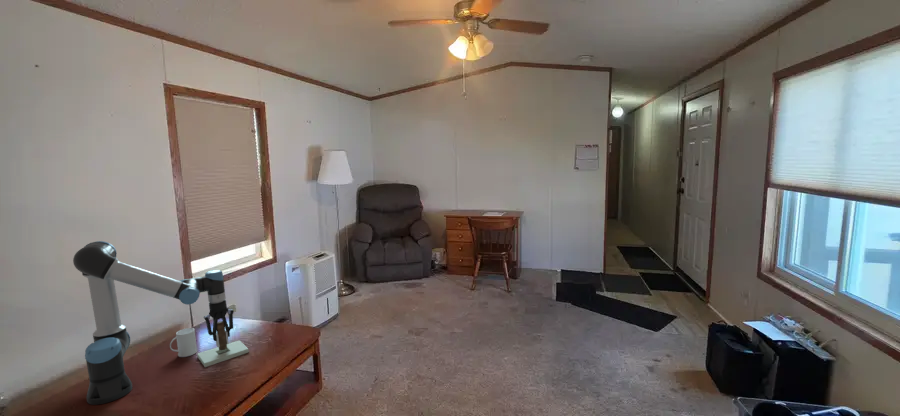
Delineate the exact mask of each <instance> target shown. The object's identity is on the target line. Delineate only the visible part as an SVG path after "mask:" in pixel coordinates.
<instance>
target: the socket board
mask: <svg viewBox="0 0 900 416" xmlns="http://www.w3.org/2000/svg"><path fill="white" fill-rule="evenodd" d="M249 352H250V351H249V348H248V347H247V346H246V344H244V343H243V342H242V341H241V340H240V339H239V340H236V341H233V342H229V344H227V349H225V350H219V347H217V346H216V347H214V348H212V349H211V348H210V349H207V350H205V351H201V352H197V353H196V356H197V358H198V360H199V361H200V363H201V364H202V365H203V366H204V368H207V367H210V366H212V365H215V364H219V363H221V362H224V361H225V362H226V361H227V360H230V359H233V358H236V357H239V356H243V355H245V354H247V353H249Z"/></svg>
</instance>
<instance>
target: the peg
mask: <svg viewBox="0 0 900 416" xmlns="http://www.w3.org/2000/svg"><path fill="white" fill-rule="evenodd" d="M225 330H226V329H225V326H224V322H223V320H220V321H219V320H218V322H217V332H216V333H217V334H218V338H219V346H220V347H219V350H225V349H227V343H226V334H225Z"/></svg>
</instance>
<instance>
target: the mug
mask: <svg viewBox="0 0 900 416" xmlns="http://www.w3.org/2000/svg"><path fill="white" fill-rule="evenodd" d="M195 330H196V329H195V328H194V327H188V328H186V327H185V328H183V329H179V330H178V331H176V333H175V337H173V338H172V339H171V341H170V343H169V348H170V350H171V351H172V352H173V353H175V352H176V353H177V352H178V353H177V356H178V357H179V358H186V357H187V358H188V357H190V356H193V355H194V354H197V353H198V347H197V340H196V331H195ZM175 340H176V344H177V345H176V346H177V349H173V348H172V343H173V342H174V341H175Z"/></svg>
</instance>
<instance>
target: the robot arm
mask: <svg viewBox="0 0 900 416" xmlns="http://www.w3.org/2000/svg"><path fill="white" fill-rule="evenodd" d="M72 259H73V260H72V261H73V262H72V263H73V265H74V268H75V269H76V270H77V271H79V272H80V273H81V274H82V276H83V277H84V278H87V281H88V286H89V292H90V299H91V305H92V310H93V317H94V322H95V327H96V329H95V330H94V331H93V333H92V336H93V337H92V338H93V342H92V343H90V344H89V345H87V347H86V348H85V353H84V357H85V358H84V359H85V362H86V367H87V368H86V369H87V372H88V373H87V374H88V378H89V379H88V380H89V386H88V389H87V392H86V403H87V404H89V405H102V404H103V405H104V404H108V403H110V402H114V401H117V400H118V399H121V398H123V397H125V396H127V395H128V394H129V393H130V392H131V391H132V389H133V382H132V380H131V379H130V377H129V376H128V374H127V373H126V371H125V365H124V364H125V363H124V356H125V355H126V352H127V350H128V349H129V348H130V343H131V335H130V333H129V332H128V331H127V326H126V324H123V323H122V321H121V316H120V314H121V313H120V310H119V309H120V308H119V303H118V297H117V291H116V286H115V285H116V283H115V281H117V282H120V283H124V284H127V285H129V286H130V285H131V286H133V287H137V288H139V289H143V290H147V291H150V292H152V293H157V294H160V295H164V296H167V297H168V298H169V297H170V298H173V299H177V300H179V301H180V303H182V304H183V305H188V306H189V305H193V304H195V303H196V302H197V301H198V300H199V298H200V294H201V293H206V292H207V299H208V307H209V312H208V314H207V315H204V316H203V319H204V320H205V325H206V329H207V333H208V335H209V336H212V337H213V338H212V339H213V341H214V342H215V345H216V348H217V347H220V346H219V338H218V334H217V322H219V320H220V319H221V321H223V322H224V326H225V334H226V343H227V344H229V343H230V342H229V337H231V333H230V331H231V330H233V329H234V318H233V316H234V311H235V310H233V308H228V307H227V300H226V298H227V297H226V292H225V290H226V289H225V281H224V275H223V271H222V270H220V269H214V270H213V269H212V270H209V271H207V272H205V275H204V276H200V277H199V276H198V277H192V278H184V279H181V280H177V279H174V278H171V277H168V276H166V275H161V274H158V273H156V272H152V271H149V270H146V269H144V268H141V267H137V266H134V265H131V264H128V263H124V262H122V261H120V260H119V258H117V250H116V247H115V246H114V245H113V244H112V243H110V242H109V241H108V242H107V241H103V240H97V241H93V242H90V243H87V244H86V245H85V246H83V247H82V248H80V249H79V250H78V251H76V252H75V253H74V256H73V258H72ZM227 313H228V322H227V318H226V317H227ZM211 318H212V320H213V321H212V326H211V322H210V319H211Z"/></svg>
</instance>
